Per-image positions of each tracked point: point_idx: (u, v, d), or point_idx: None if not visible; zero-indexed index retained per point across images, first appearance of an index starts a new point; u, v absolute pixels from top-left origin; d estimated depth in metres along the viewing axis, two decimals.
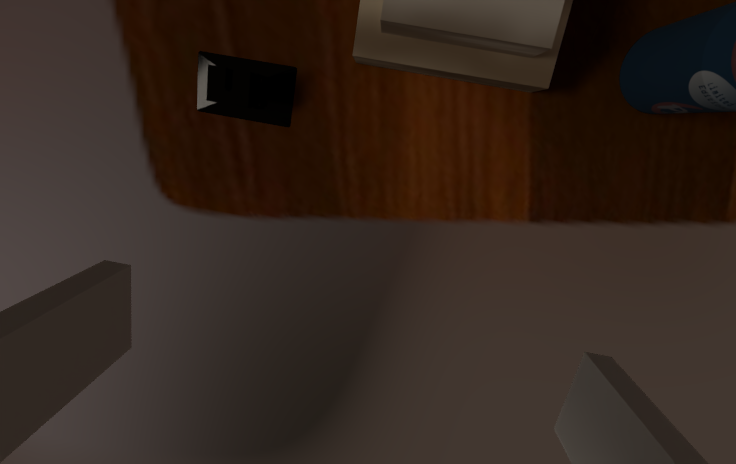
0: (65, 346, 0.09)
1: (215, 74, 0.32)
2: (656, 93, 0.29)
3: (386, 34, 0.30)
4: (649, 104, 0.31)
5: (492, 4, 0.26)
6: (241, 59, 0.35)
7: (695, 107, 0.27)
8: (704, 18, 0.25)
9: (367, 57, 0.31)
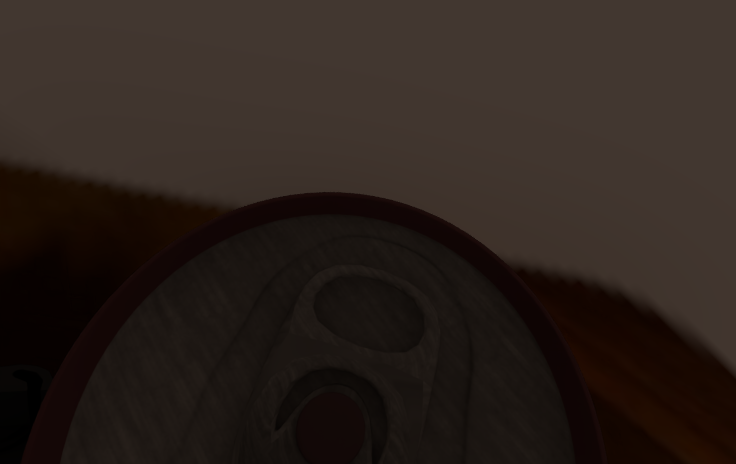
0: None
1: None
2: None
3: None
4: None
5: None
6: None
7: None
8: None
9: None
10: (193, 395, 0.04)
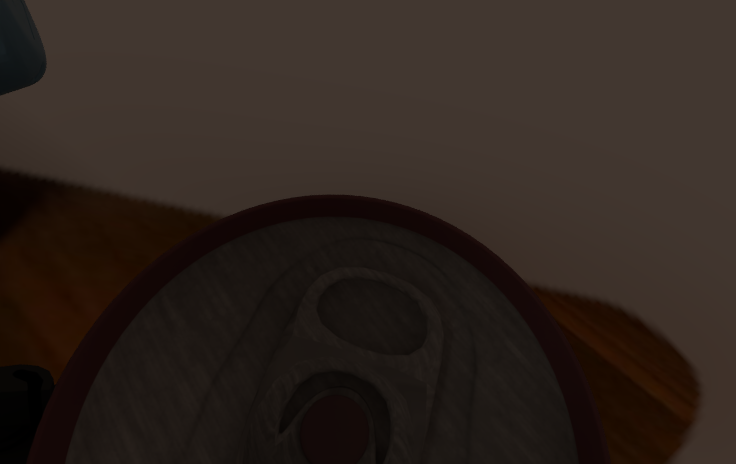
0: None
1: None
2: None
3: None
4: None
5: None
6: None
7: None
8: None
9: None
10: (197, 397, 0.04)
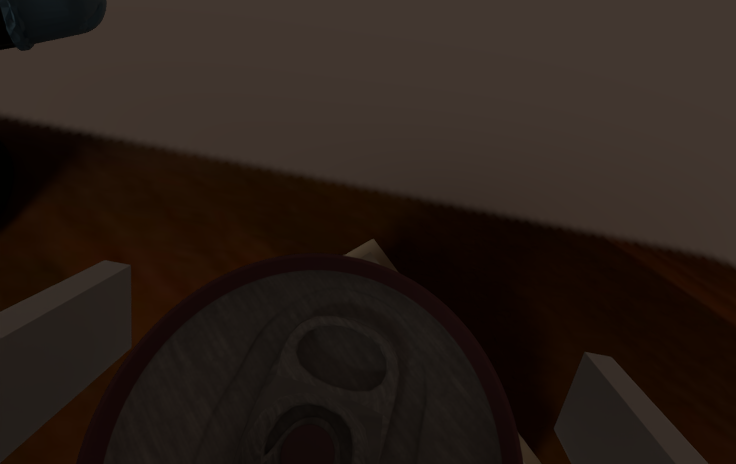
0: (65, 346, 0.09)
1: None
2: None
3: None
4: None
5: None
6: None
7: None
8: None
9: None
10: (201, 425, 0.05)
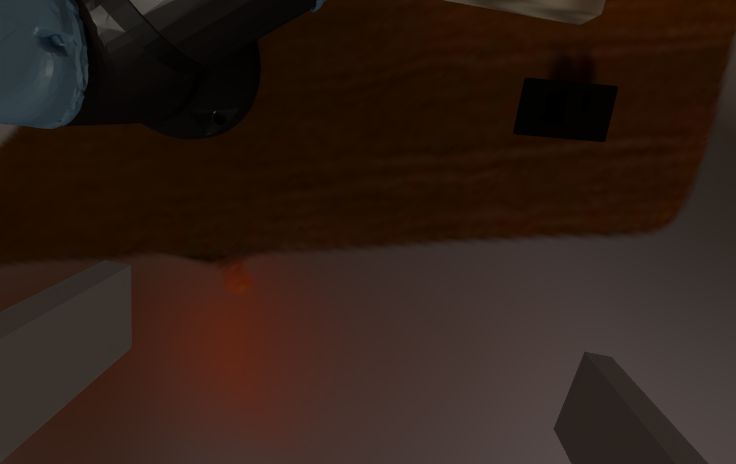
0: (65, 346, 0.09)
1: (574, 99, 0.35)
2: None
3: None
4: None
5: None
6: (566, 83, 0.38)
7: None
8: None
9: None
10: None
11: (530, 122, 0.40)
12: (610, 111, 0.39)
